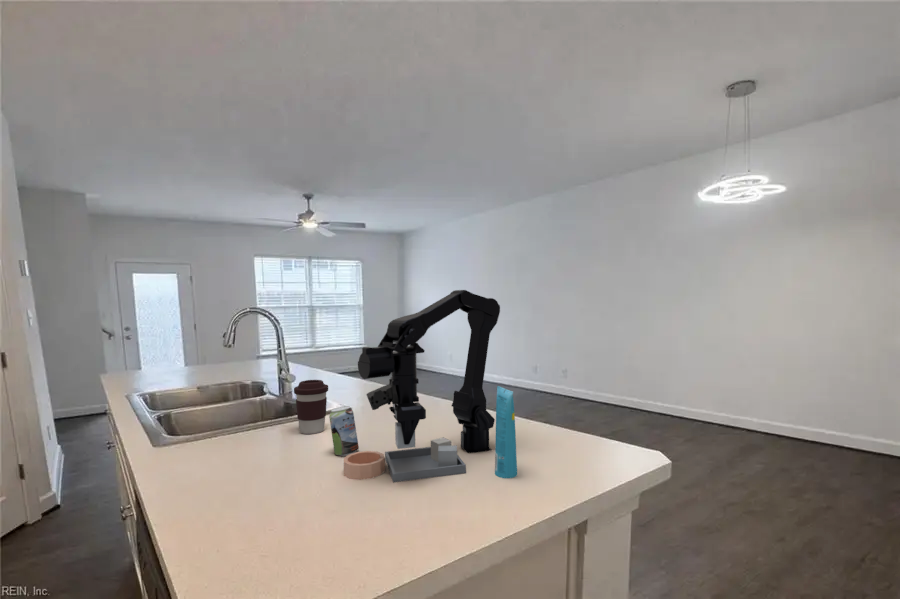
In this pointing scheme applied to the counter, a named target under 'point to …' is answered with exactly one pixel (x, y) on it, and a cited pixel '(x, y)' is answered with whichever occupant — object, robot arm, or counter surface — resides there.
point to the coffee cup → (311, 406)
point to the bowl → (364, 465)
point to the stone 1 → (400, 440)
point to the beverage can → (343, 431)
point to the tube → (505, 435)
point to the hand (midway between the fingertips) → (405, 441)
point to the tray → (418, 465)
